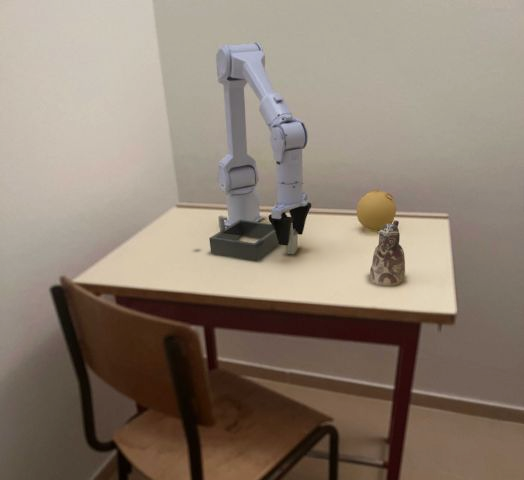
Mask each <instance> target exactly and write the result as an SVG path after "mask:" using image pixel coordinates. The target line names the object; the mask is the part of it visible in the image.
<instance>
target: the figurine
mask: <svg viewBox="0 0 524 480" xmlns="http://www.w3.org/2000/svg"><path fill="white" fill-rule="evenodd" d="M399 224H400V222H399V220H396V219H394V221H393V222H392V224H386V225H384V226H383V227H382V229H381V230H378V244H377V246H375V248H374V251H373V255H372V260H371V261H372V262H371V266H370V270H369V271H370V273H369V275H370V280H371V282H372V283H373V284H376V285H379V286H390V287H391V286H393V287H394V286H397V285H400V284H402V282H403V281H404V280H405V276H406V260H405V259H406V258H405V251H404V248H403V247H402V245H401V244H400V239H401V238H400V236H401V235H400V234H401V233H400V231H399Z"/></svg>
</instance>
